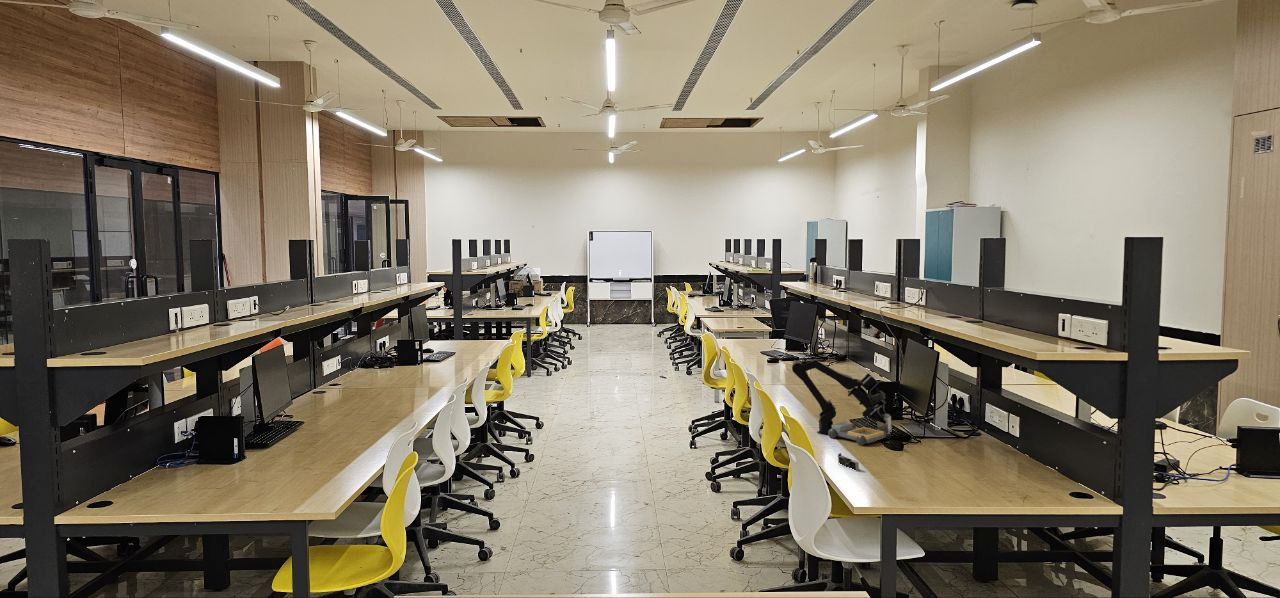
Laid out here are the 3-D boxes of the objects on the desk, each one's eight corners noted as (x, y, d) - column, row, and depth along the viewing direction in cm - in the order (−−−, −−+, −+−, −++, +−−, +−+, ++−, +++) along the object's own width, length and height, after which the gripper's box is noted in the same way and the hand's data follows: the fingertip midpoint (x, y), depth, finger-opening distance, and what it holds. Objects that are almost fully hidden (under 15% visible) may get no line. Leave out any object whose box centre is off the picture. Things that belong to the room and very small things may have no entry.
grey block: (877, 435, 335) (876, 415, 334) (881, 433, 339) (880, 412, 338) (888, 437, 332) (887, 416, 331) (891, 434, 336) (890, 413, 335)
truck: (826, 437, 338) (826, 426, 337) (848, 431, 346) (847, 420, 345) (865, 446, 318) (864, 434, 318) (887, 440, 326) (886, 428, 326)
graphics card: (838, 465, 297) (835, 454, 296) (843, 462, 297) (839, 452, 297) (856, 472, 286) (853, 461, 285) (861, 469, 286) (858, 458, 286)
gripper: (868, 390, 328) (892, 415, 323) (880, 382, 343) (904, 406, 338) (852, 405, 334) (876, 430, 328) (865, 397, 349) (888, 421, 343)
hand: (887, 421), depth 334 cm, fingers closed on grey block, 5 cm apart
